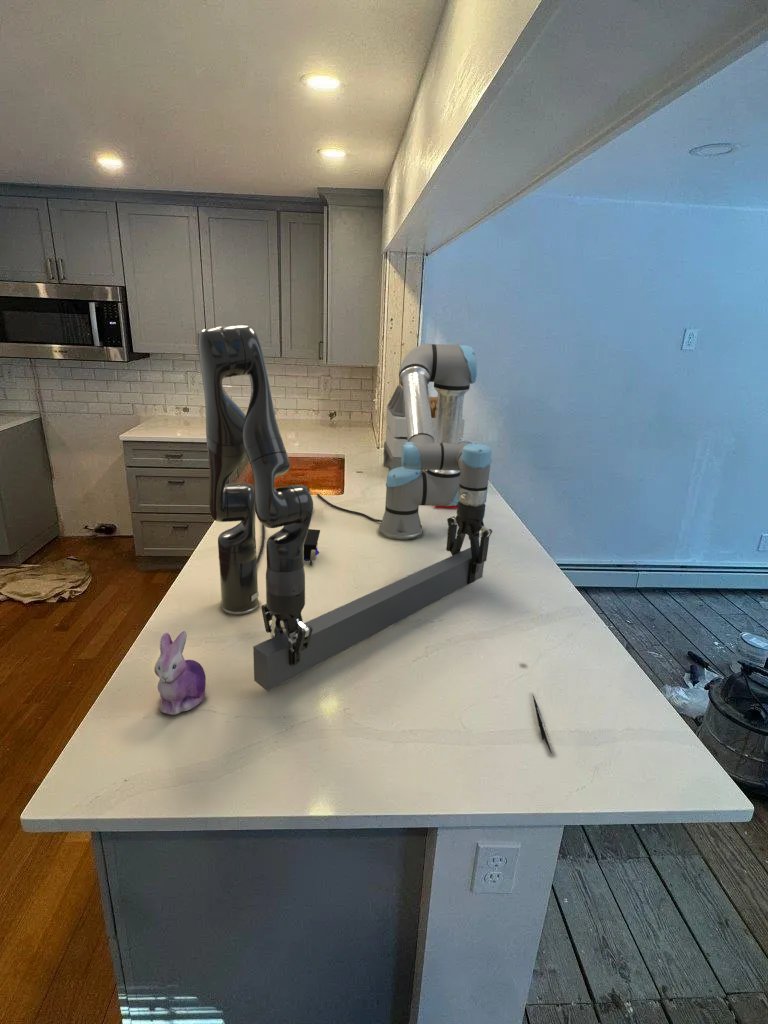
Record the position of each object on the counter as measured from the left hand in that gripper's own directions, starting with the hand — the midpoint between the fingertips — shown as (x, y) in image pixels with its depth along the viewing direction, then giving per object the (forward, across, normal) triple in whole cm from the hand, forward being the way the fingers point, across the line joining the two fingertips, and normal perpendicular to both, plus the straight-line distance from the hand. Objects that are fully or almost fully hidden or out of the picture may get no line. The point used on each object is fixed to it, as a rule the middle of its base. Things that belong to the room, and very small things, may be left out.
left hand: (286, 658), depth 117 cm
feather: (+6, +40, +32) cm, 52 cm away
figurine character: (+7, -45, +43) cm, 63 cm away
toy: (+8, -55, +124) cm, 136 cm away
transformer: (+9, -86, +146) cm, 170 cm away
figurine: (+6, -9, -18) cm, 21 cm away
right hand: (+3, 0, +62) cm, 62 cm away
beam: (+4, 0, +31) cm, 31 cm away
